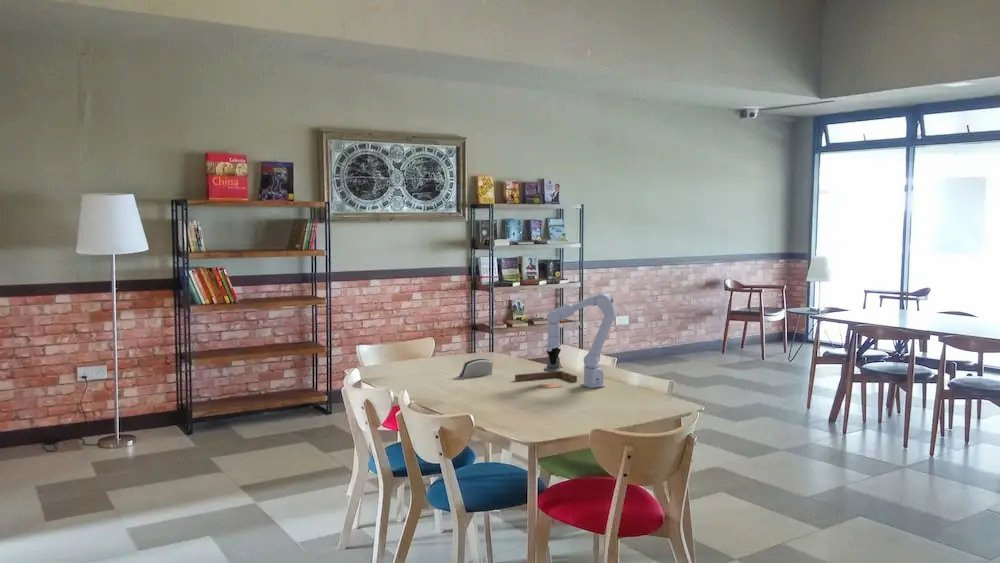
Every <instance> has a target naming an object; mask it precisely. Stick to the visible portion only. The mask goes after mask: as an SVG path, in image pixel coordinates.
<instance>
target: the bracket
mask: <svg viewBox="0 0 1000 563" xmlns="http://www.w3.org/2000/svg"><path fill="white" fill-rule="evenodd" d="M560 363H561V360H560V357H559V356H558V357H556V363H555V365H552V364H551V363H550V359H549V356H546V367H544V368H543V372H557V371H561V370H560V367H561V364H560Z"/></svg>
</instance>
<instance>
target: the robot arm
mask: <svg viewBox="0 0 1000 563" xmlns="http://www.w3.org/2000/svg"><path fill="white" fill-rule="evenodd" d="M614 301H615V300H614V298H613V297H612V295H611V294H610V293H608V292H602V293H601V294H600V293H599V294H595V295H591V296H590V297H587V298H585V299H582V300H580V301H579V302H577V303H574V304H572V303H567V302H566V303H564V304H563V305H562V306H560V307H557V308H554V310H551V311H549V312H548V313H547V315H546V320H547V344H545V347H546V353H547V356H548V357H549V359H550V363H551V364H552V365H555V363H556V357H559V355H560V353H561V351H562V349H561V343H560V342H561V341H560V340H561V332H560V330H561V326H560V325H561V323H560V322H561V320H562V321H563V320H565V319H568V318H570V317H572V316H574V315H575V312H576V311H580V310H581V309H584V308H586V307H589V306H592V307H595V306H597V307H598V308H599V309H600V310H601V312H602V315H603V318H602V321H601V323H600V325H599V327H598V331H597V332H596V335H595V337H594V340H593V342H592V344H591V347H590V349H589V350H588V353H587V354H586V355H585V356H584V357H583V364H584V366H583V382H580V385H581V386H583V387H587V388H589V389H594V388H604V387H605V385H604V373H603V370H602V369H601V368H600V364H599V362H600V361H601V353H602V349H603V347H604V344H605V341H606V339H607V336H608V334H609V332H610V330H611V327H612V324H613V323H614V320H615V317H616V309H615V303H614Z"/></svg>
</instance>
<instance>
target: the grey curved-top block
mask: <svg viewBox="0 0 1000 563" xmlns="http://www.w3.org/2000/svg"><path fill="white" fill-rule="evenodd" d="M488 374H489V375H492V374H493V362H492V361H491V360H490V359H489V358H485V357H476V358H471V359H468V360H467V361H464V363H463V366H462V368H461V371H460V372H459V374H458V375H459V377H462V378H464V377H465V378H472V377H471V376H473V377H479V376H478V375H481V376H487V375H488Z"/></svg>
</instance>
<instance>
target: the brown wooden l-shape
mask: <svg viewBox="0 0 1000 563" xmlns="http://www.w3.org/2000/svg"><path fill="white" fill-rule="evenodd" d="M558 377H559V378H561V379H564V380H566V381H569V382H572V383H577V382H578V376H577V375H576V374H573V373H570V372H567V371H565V370H558V371H557V372H547V371H541V372H532V373H531V372H530V373H520V374H514V381H515V382H525V381H526V380H527V381H535V380H534V379H538V380H545V379H544V378H548V379H557V378H558Z"/></svg>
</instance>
